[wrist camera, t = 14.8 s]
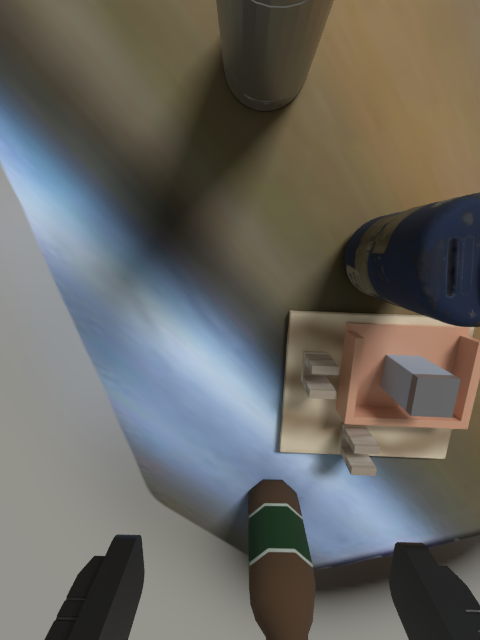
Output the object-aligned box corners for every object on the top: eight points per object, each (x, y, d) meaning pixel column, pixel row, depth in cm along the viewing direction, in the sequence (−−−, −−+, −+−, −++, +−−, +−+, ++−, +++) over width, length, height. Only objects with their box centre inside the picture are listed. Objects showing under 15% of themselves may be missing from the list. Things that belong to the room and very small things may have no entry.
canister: (427, 223, 35) (611, 193, 17) (406, 300, 37) (552, 343, 20) (348, 212, 35) (454, 171, 17) (332, 290, 37) (411, 325, 19)
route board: (289, 310, 38) (297, 321, 32) (468, 317, 37) (512, 329, 31) (279, 446, 42) (284, 478, 36) (439, 453, 42) (472, 486, 36)
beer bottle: (238, 485, 44) (230, 753, 20) (287, 469, 43) (337, 728, 20) (257, 525, 45) (270, 815, 22) (305, 510, 45) (370, 795, 21)
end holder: (346, 322, 37) (356, 329, 33) (466, 326, 37) (489, 334, 33) (335, 408, 39) (344, 424, 36) (447, 413, 39) (467, 429, 36)
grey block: (385, 354, 37) (417, 377, 30) (420, 355, 37) (460, 379, 30) (380, 386, 38) (410, 415, 31) (414, 388, 38) (452, 417, 31)
